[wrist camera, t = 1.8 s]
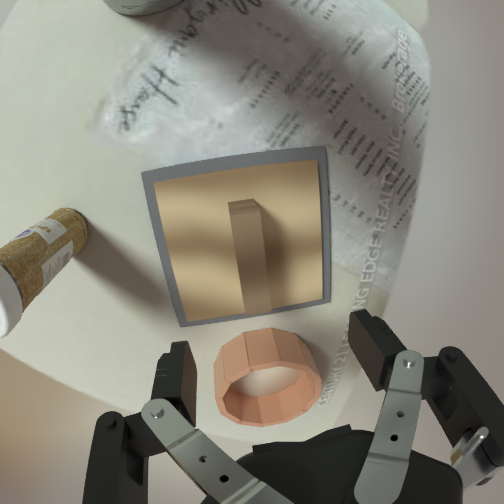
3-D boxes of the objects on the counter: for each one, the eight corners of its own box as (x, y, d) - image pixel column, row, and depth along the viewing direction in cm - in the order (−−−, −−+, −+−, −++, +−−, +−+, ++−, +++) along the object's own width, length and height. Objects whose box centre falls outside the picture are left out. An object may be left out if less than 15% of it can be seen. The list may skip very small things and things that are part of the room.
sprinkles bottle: (71, 196, 22) (-28, 258, 9) (98, 238, 23) (20, 327, 11) (41, 223, 22) (-49, 292, 10) (66, 261, 24) (-8, 349, 11)
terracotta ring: (206, 338, 29) (206, 372, 24) (308, 320, 29) (323, 351, 25) (224, 400, 33) (227, 431, 28) (308, 385, 34) (319, 414, 29)
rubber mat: (142, 172, 22) (141, 172, 21) (322, 146, 23) (324, 146, 22) (180, 324, 28) (180, 327, 27) (328, 299, 29) (329, 302, 28)
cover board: (155, 182, 22) (141, 193, 18) (314, 159, 23) (336, 165, 18) (187, 317, 27) (184, 349, 23) (320, 295, 28) (337, 323, 24)
